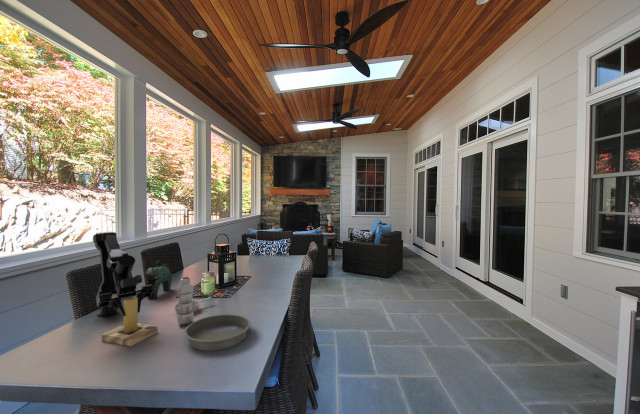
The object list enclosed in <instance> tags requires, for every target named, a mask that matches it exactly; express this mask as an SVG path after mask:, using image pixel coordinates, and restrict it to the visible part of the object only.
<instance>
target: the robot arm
mask: <svg viewBox="0 0 640 414" xmlns="http://www.w3.org/2000/svg"><path fill="white" fill-rule="evenodd" d="M117 236H118V235H117V232H116V231H104V232H96V233H95V234H94V235H92V241H93V242H92V243H93V244H94V247H95V248H96V250H97V251H99V256H100V258H99V259H100V268H101V278H102V279H101V283H100V286H99V287H98V291H97V293H96V296H95V301H96V306H97V308H98V309H99V313H98V314H96V316H97V317H102V318H109V317H111V316H114V315H117V314H120V315H121V316H122V318H124V316H125V312H124V305H123V303H122V299H128V298H133V297H135V298H138V314H139V313H140V312H141V306H142V301H143V300H144V299H146V298H148V297H150V296H152V294H153V292H154V290H155V288H154V286H153V285H148V284H147V285H143V286H142V287H141V289H139V290H136V289H137V286H138V284H141V283H142V282H143V277H142V274H136V275H135V276H132V275H131V272H132V271H133V268H134V265H135V263H136V258H135V257H134V256H133V255H129V253H127V252H126V251H123V250H122V249H121V246H120V244H119V241H118V237H117Z"/></svg>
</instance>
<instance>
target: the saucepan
mask: <svg viewBox="0 0 640 414" xmlns="http://www.w3.org/2000/svg"><path fill="white" fill-rule="evenodd" d="M210 299H212V297H211V296H209V297H207V298H204V299H201V300H198V301H197V300H192V307H193V313H194V314H195V313H196V312H198V310H199V307H200V303H202V302H205V301H208V300H210ZM174 311H175V313H177V314H178V311H179V302H178V303H177V304H175V305H174Z"/></svg>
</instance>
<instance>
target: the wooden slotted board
mask: <svg viewBox="0 0 640 414" xmlns="http://www.w3.org/2000/svg"><path fill="white" fill-rule="evenodd" d="M158 329H159V327H158V325H154V324H147V323H146V324H145V323H140V322H138V329H137V330H135V331H133V332H132V333H131V332H124V324H123V325H120V326H117V327H116V328H113V329H112V330H109V331H107V332H104V333H103V334H101V341H102V342H105V343H110V344H114V345H115V344H116V345H121V346H127V347H132V346H134V345H136V344H138V343H140V342H141V341H143V340H145V339H147V338H150V337H151V336H153V335H155V334H157V333H158Z"/></svg>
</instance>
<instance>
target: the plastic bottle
mask: <svg viewBox="0 0 640 414" xmlns="http://www.w3.org/2000/svg"><path fill="white" fill-rule="evenodd" d="M176 292H177V299H178V303H179V311H178V313H177V318H176V320H177V323H178V324H179V325H181V326H185V325H186V326H187V325H190V324H191V323H193V322H194V319H195V315H194V314H195V313H193V307H192V301H193V300H194V298H193V297H194V287H193V285H192V284H191V277H190V276H185V277H181V278H180V285H179V287H178V288H177V291H176Z"/></svg>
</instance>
